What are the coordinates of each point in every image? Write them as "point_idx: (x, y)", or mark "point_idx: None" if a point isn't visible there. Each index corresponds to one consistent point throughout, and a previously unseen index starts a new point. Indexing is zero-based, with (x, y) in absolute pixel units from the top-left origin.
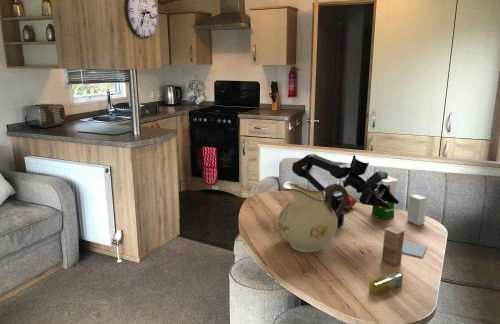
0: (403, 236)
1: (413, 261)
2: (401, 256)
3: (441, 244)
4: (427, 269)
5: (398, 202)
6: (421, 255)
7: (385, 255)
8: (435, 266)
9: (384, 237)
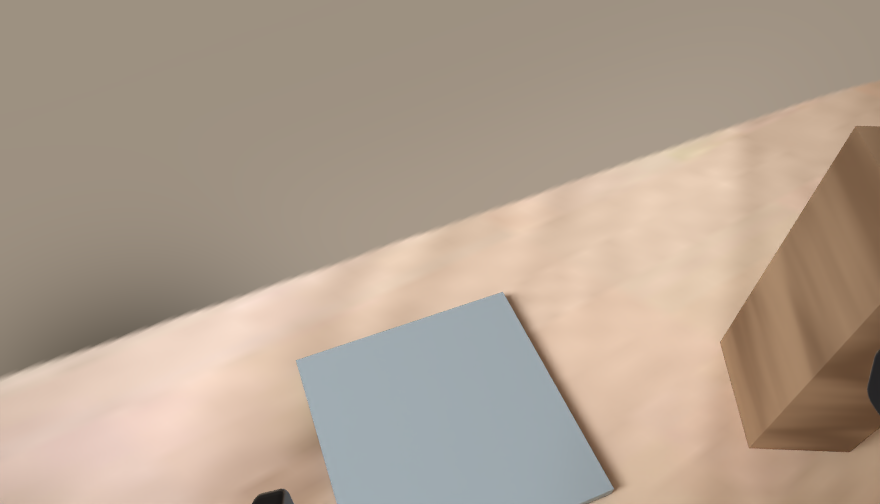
0: (833, 172)
1: (603, 309)
2: (743, 306)
3: (156, 325)
4: (607, 216)
5: (288, 497)
6: (489, 306)
7: None
8: (528, 209)
9: None
